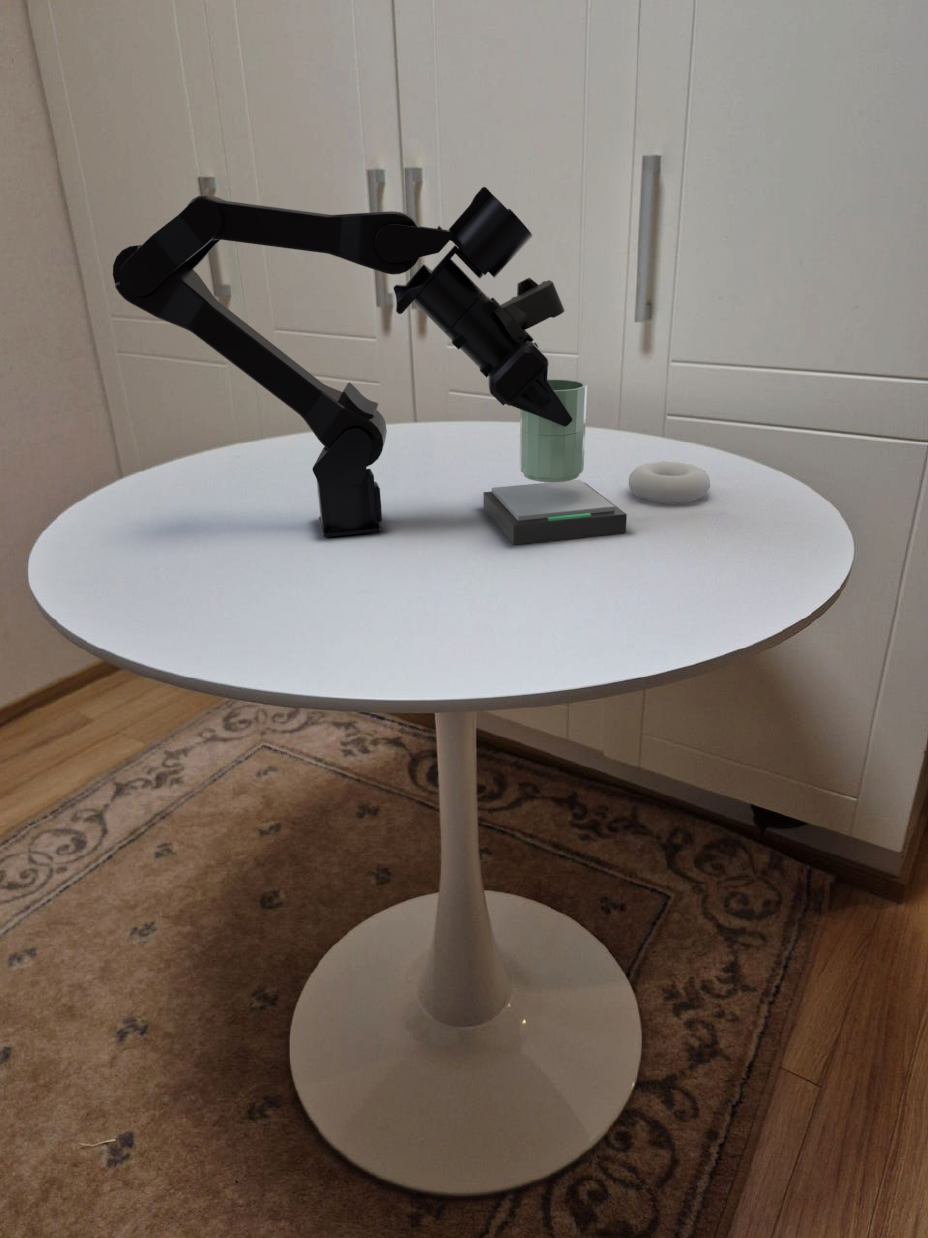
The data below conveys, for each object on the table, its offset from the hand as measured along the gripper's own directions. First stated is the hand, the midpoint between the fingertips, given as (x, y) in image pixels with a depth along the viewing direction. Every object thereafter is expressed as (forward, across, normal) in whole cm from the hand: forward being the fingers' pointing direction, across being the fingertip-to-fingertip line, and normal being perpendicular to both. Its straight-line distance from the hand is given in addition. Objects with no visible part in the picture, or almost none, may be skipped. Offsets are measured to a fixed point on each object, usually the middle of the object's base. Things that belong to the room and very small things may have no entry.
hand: (565, 415), depth 95 cm
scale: (+8, 0, +9) cm, 12 cm away
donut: (+19, +8, -2) cm, 21 cm away
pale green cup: (+4, 0, +6) cm, 7 cm away
